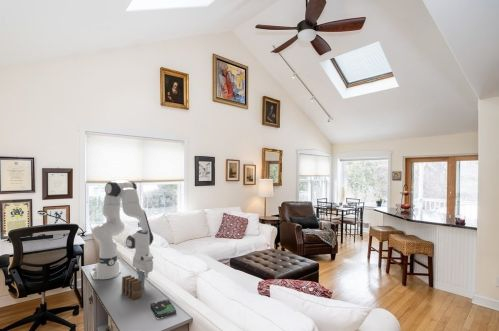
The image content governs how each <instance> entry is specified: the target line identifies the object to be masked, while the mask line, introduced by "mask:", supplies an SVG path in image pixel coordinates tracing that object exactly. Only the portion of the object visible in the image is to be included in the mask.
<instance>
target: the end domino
mask: <svg viewBox="0 0 499 331" xmlns="http://www.w3.org/2000/svg"><path fill="white" fill-rule="evenodd" d="M144 275H145V272H144V271H142V270H140V271H138V275H137V279H138V281H139V280H141V281H142V288H141V289H144V288H145V279H146V278H144Z"/></svg>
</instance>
